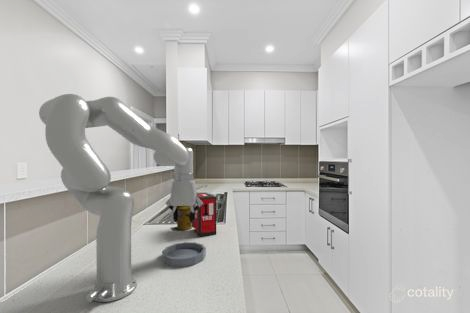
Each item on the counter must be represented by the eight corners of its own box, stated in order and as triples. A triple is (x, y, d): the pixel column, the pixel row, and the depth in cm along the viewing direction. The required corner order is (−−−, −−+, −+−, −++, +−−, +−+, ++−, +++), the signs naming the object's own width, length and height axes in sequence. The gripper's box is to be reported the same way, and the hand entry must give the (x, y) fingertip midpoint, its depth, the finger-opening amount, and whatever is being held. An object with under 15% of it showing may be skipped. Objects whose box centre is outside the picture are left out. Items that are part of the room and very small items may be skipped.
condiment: (195, 229, 94) (195, 199, 94) (175, 233, 90) (175, 202, 90) (188, 225, 100) (188, 197, 100) (169, 228, 96) (169, 199, 96)
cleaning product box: (216, 234, 122) (216, 196, 122) (200, 237, 118) (200, 198, 118) (205, 226, 137) (205, 192, 137) (191, 228, 133) (191, 193, 133)
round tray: (199, 267, 85) (199, 259, 85) (155, 265, 87) (155, 257, 87) (209, 249, 102) (209, 242, 102) (171, 248, 104) (171, 241, 104)
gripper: (159, 178, 92) (160, 223, 92) (202, 178, 90) (202, 224, 90) (167, 176, 100) (167, 218, 100) (206, 176, 98) (207, 219, 98)
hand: (184, 221), depth 95 cm, fingers closed on condiment, 6 cm apart
